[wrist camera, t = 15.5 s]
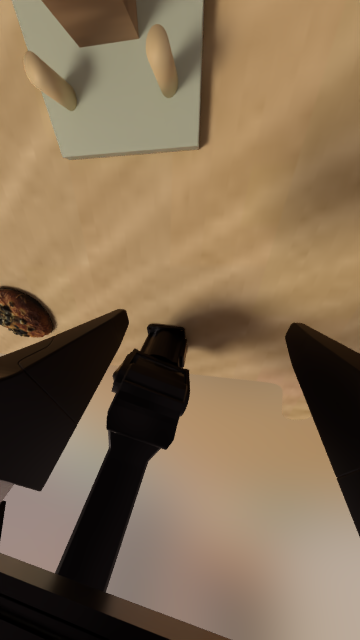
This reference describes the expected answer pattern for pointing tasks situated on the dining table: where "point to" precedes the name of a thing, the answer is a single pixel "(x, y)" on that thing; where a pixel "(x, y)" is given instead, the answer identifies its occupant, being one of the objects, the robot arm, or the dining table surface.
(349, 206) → the dining table surface
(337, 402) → the robot arm
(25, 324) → the bread roll
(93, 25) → the walnut block
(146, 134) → the pin plate
